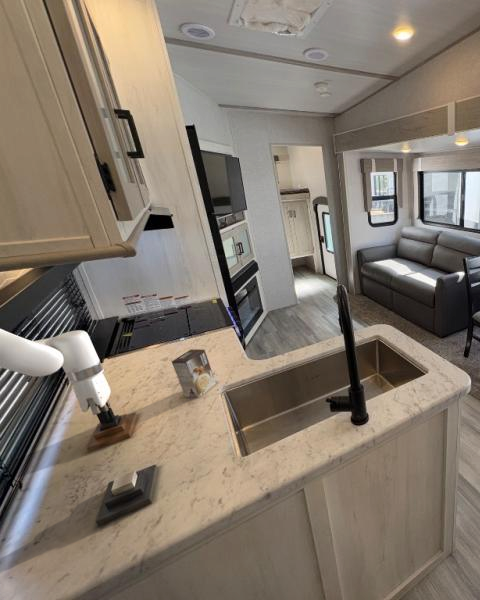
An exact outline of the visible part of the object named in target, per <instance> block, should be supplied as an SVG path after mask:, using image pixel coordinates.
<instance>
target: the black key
mask: <svg viewBox="0 0 480 600" xmlns="http://www.w3.org/2000/svg"><path fill="white" fill-rule="evenodd" d="M119 416H120V415H119V414H116V415H115V418H114V420H113V421H110V422H107V423H104V424H100V426H99V427H100V429H101V431H102V430H105V429H109V428H112V427H115V426H118V425H119V422H120V417H119Z"/></svg>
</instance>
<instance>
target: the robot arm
mask: <svg viewBox="0 0 480 600" xmlns="http://www.w3.org/2000/svg"><path fill="white" fill-rule="evenodd" d="M0 368H2V369H4V370H7V371H11V372H15V373H18V374H22V375H25V376H29V377H45V376H46V377H47V376H49V375H53V374H54V373H56V372H58V371H59V370H60V369H61V368H62V369H63V371H64V373H65V375H66V377H67V379H68V381H69V383H71V384H72V388H73V391H74V394H75V398H76V400H77V402H78V405H79V408H80V410H81V411H82V413H87V412H88V411H89V409H90V410H91V413H92V415H93V416H95V415H96V417H97V419H98V421H99V422H100V423H101V424H104V423H107V422H110V421H113V420H114V418H115V416H116V415H115V413H114V411H113V408H112V407H111V404H110V400H109V398H110V395H111V391H112V390H111V387H110V384H109V383H108V381H107V378H106V377H105V374H104V371H105V369H104V367H103V365H102V363H101V360H100V358H99V356H98V353H97V351H96V349H95V347H94V345H93V342H92V339H91V338H90V336H89V334H88V332H87V331H85V330H81V329H80V330H79V329H78V330H71V331H67V332H63V333H60V334H58V335H55V336H53V337H48V338H44V339H43V338H42V339H38V340H30V339H27V338H24V337H22V336H19V335H16V334H14V333H12V332H9V331H7V330H4V329H2V328H0Z"/></svg>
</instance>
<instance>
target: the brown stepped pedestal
mask: <svg viewBox="0 0 480 600" xmlns="http://www.w3.org/2000/svg"><path fill="white" fill-rule="evenodd" d="M119 417H120V422H119V425H118V426H115V427H112V428H109V429H105V430H102V431H101V429H100V427H99V426H100V424H101V423H100V421H99V423H97V424H96V427H95V429H94V431H93V432H92V433H93V434H92V435H91V437H90V439H89V441H88V443H87V446H86V450H87V451H88V453H91V452H92V451H95V450H98V449H101V448H104V447H107V446H110V445H112V444H117V443H118V442H122V441H124V440H127V439H130V438H131V437H132V434H133V432H134V428H135V425H136V422H137V419H138V414H137V411H134V412H131V413H124V414H122V415H119Z"/></svg>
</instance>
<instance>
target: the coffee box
mask: <svg viewBox="0 0 480 600" xmlns="http://www.w3.org/2000/svg"><path fill="white" fill-rule="evenodd" d="M171 364H172V367H173V369H174V372H175V374H176V378H177V379H178V382H179V385H180V387H181V390H182V393H183V395H184V397H185V398H200V397H201V396H203V395H204V394H205V393H207V392H208V391H209V390H210V389H211V388H213V386H215V385H216V384H217V381H216V380H215V376H214V373H213V370H212V367H211V364H210V362H209V359H208V355H207V353H206V349H197V348H196V349H195V348H194V349H189V350H187V351H186V352H184V353H182V355H181V354H180V356H178V357H176V358H175V359H173V360H172V361H171Z"/></svg>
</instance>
